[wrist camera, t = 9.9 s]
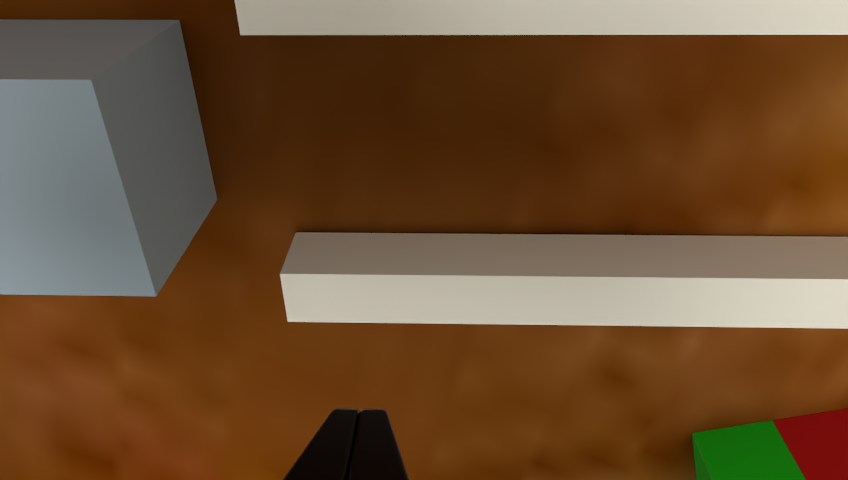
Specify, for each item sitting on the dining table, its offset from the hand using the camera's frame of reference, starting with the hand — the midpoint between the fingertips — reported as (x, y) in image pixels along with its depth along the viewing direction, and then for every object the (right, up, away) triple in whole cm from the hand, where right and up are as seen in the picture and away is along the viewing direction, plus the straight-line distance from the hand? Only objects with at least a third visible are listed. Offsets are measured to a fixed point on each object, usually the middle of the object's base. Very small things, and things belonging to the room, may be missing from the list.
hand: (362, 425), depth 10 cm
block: (-9, +7, +10) cm, 15 cm away
